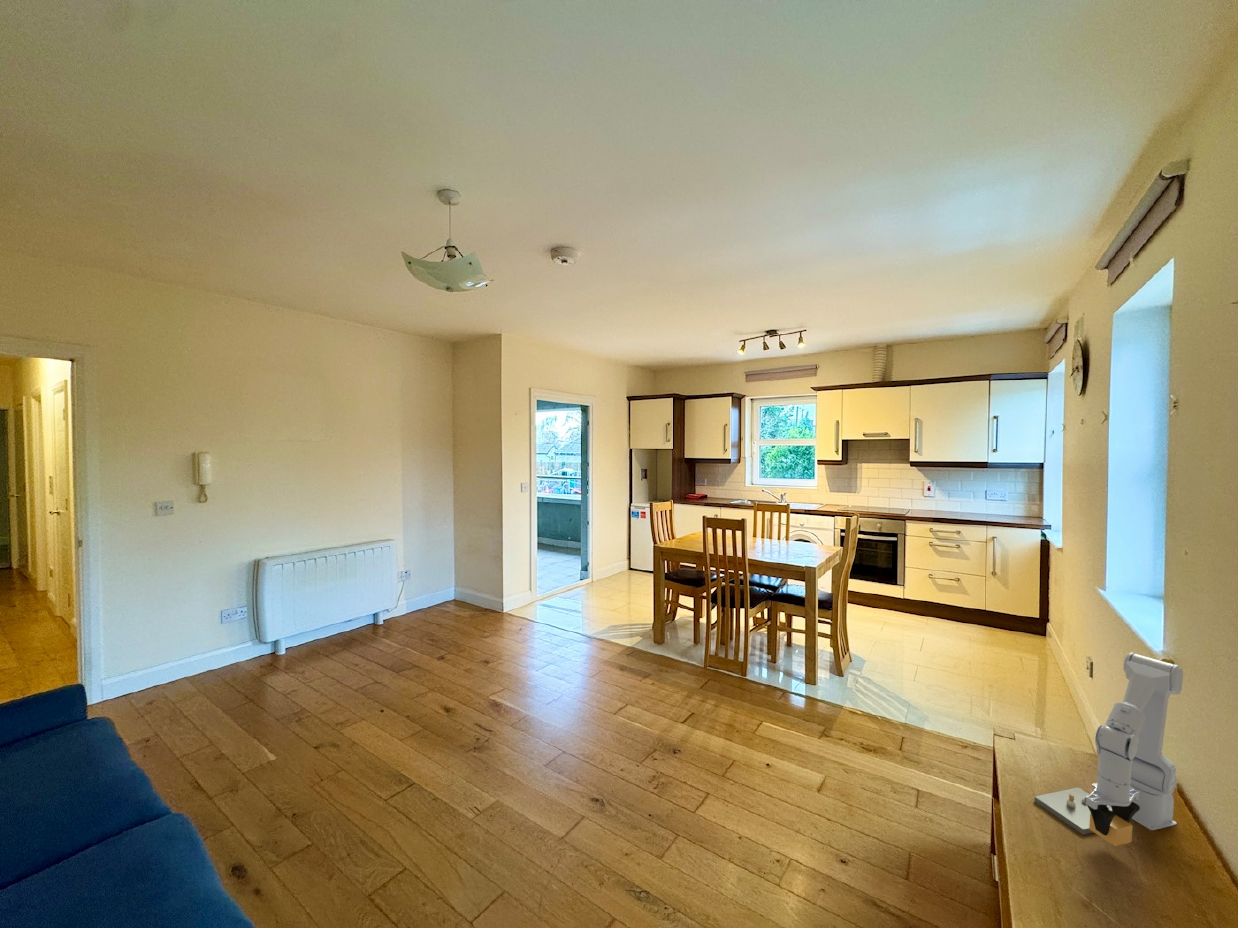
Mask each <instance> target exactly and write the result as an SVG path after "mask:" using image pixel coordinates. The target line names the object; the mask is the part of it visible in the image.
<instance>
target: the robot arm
mask: <svg viewBox="0 0 1238 928" xmlns="http://www.w3.org/2000/svg"><path fill="white" fill-rule="evenodd" d="M1123 671H1124V673H1125V678H1126V679H1127V680H1128V683H1127V687H1126V691H1125V694H1124V697H1123V701H1121V702H1116V703H1114V705H1113V707H1112V709H1111V711H1110V713H1109V715H1108V717H1107V720H1106V722H1105V724H1104V725H1099V726H1098V727H1097V730H1096V733H1095V737H1094V742H1095V746H1096V754H1097V755H1098V760H1097V761H1098V763H1097V779H1096V782H1094V783H1092V784H1091V788H1093V791H1092V792H1091V793H1089V794H1090V795H1089V796H1086V798H1085V803H1086V805H1087V806H1088V808H1089V810H1090V812H1091V814H1092V817H1093V821H1094V825H1095V828H1096V830H1097V831H1099V832H1100V833H1102V834H1103V835H1107V834H1108V832H1109V828H1110V824H1111V821H1112V819H1113V818H1114V817H1115V816H1116V815H1117V816H1118V817H1120V818H1122V819H1123V820H1125V821H1126V822H1128V823H1130V822H1131V820H1133V821H1135V822H1136V823H1138V824H1140V825H1141V826H1143V827H1145V828H1147V829H1148V830H1149V831H1155V830H1160V829H1164V828H1168V827H1173V826H1176V825H1177V822H1176V821H1175V820H1173V817H1174V816H1173V815H1174V804H1175V799H1174V796H1173V793H1174V792H1175V790H1176V786H1177V775H1176V774H1177V768H1176V765H1175V764H1174V762H1172V761H1171V760H1170V759H1169V758H1168V757H1166V755H1164V753H1163V746H1164V737H1165V728H1166V720H1167V712H1168V705H1169V704H1168V703H1169V698H1170V696H1171V695H1180V694H1181V692H1182V687H1183V680H1184V672H1183V669H1182V668H1181V666H1180V665H1179V664H1174V663H1169V662H1166V661H1164V660H1163V661H1162V660H1159V659H1155V658H1152V657H1148V656H1145V655H1141V654H1138V653H1135V652H1134V651H1133V652H1129V653H1127V654H1126V656H1125V657H1124V660H1123ZM1107 805H1108V806H1110V807H1111V808H1112V811H1111V810H1109V808H1108V807H1107Z"/></svg>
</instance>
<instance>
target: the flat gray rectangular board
mask: <svg viewBox="0 0 1238 928" xmlns="http://www.w3.org/2000/svg"><path fill="white" fill-rule="evenodd" d="M1090 794H1091V793H1088V792H1086V790H1085V791H1084V790H1083V789H1081V788H1080V787H1074V788H1069V789H1064V790H1060V791H1054V792H1050V793H1045V794H1041V795H1036V796H1034V803H1036V804H1037V805H1039V806H1040V807H1042V808H1043V809H1045V810H1046V811H1048V812H1049V813H1051V815H1053V816H1055V817H1056V818H1058V819H1059V820H1060V821H1062V822H1063V823H1065V824H1066V825H1067V826H1069V827H1070V828H1072V829H1074V830H1075V831H1076V832H1078V833H1080V834H1081V835H1082V836H1084V835H1089V834H1093V833H1094V832H1093V831H1091V830H1090V829H1089V825H1090V813H1091V812H1090V810H1089V808H1088V806H1087V805H1086V803H1085V798H1086V796H1089V795H1090ZM1107 807H1108V808H1109V810H1111V811H1112V807H1111V806H1110V805H1107ZM1094 834H1095V833H1094Z"/></svg>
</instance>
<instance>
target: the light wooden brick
mask: <svg viewBox="0 0 1238 928" xmlns="http://www.w3.org/2000/svg"><path fill="white" fill-rule="evenodd" d="M1133 826H1134V825H1132V824H1131V823H1130V822H1129V823H1128V822H1126V821H1125V820H1123V819H1122V818H1120V817H1118V816H1117V815H1116V816H1115V817H1114V818H1113V819H1112V821H1111V824H1110V828H1109V832H1108V834H1107V835H1103V834H1102V833H1100V832H1099V831H1097V830H1096V828H1095V825H1094V821H1093V817H1092V814H1091V813H1090V825H1089V829H1090V830H1091V831H1093V832H1094V834H1096V835H1097V836H1099V837H1100V838H1102V839H1103V840H1105V841H1106V842H1108V843H1109V844H1111V845H1113V847H1117V846H1121V845H1126V844H1129V843H1132V841H1133V839H1132V838H1133V828H1134V827H1133Z"/></svg>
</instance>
